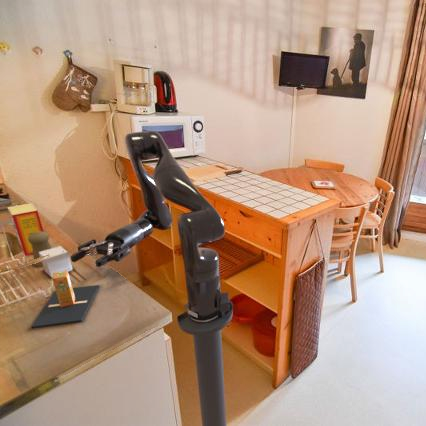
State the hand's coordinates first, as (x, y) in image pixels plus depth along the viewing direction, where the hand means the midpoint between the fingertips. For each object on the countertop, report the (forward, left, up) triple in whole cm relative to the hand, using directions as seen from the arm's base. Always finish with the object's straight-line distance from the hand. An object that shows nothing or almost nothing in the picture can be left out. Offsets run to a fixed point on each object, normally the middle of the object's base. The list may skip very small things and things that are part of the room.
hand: (84, 261), depth 94 cm
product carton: (+13, -13, -10) cm, 21 cm away
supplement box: (+4, +6, -10) cm, 12 cm away
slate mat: (+4, +7, -10) cm, 13 cm away
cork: (+19, -20, -10) cm, 30 cm away
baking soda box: (+26, -31, -10) cm, 42 cm away
